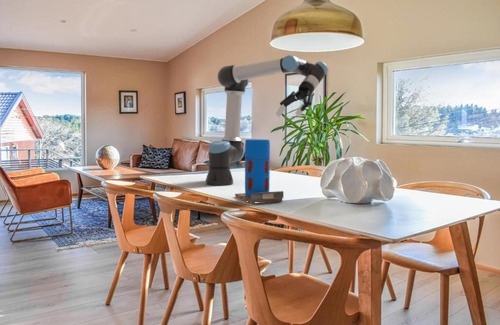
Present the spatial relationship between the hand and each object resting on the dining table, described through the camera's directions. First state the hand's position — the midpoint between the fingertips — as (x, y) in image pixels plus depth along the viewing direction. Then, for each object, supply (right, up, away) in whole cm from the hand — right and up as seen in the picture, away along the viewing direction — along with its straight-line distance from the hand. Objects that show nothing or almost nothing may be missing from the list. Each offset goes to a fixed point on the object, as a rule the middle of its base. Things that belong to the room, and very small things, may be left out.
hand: (287, 115), depth 217 cm
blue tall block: (-15, -38, -22) cm, 47 cm away
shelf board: (-15, -40, -20) cm, 47 cm away
